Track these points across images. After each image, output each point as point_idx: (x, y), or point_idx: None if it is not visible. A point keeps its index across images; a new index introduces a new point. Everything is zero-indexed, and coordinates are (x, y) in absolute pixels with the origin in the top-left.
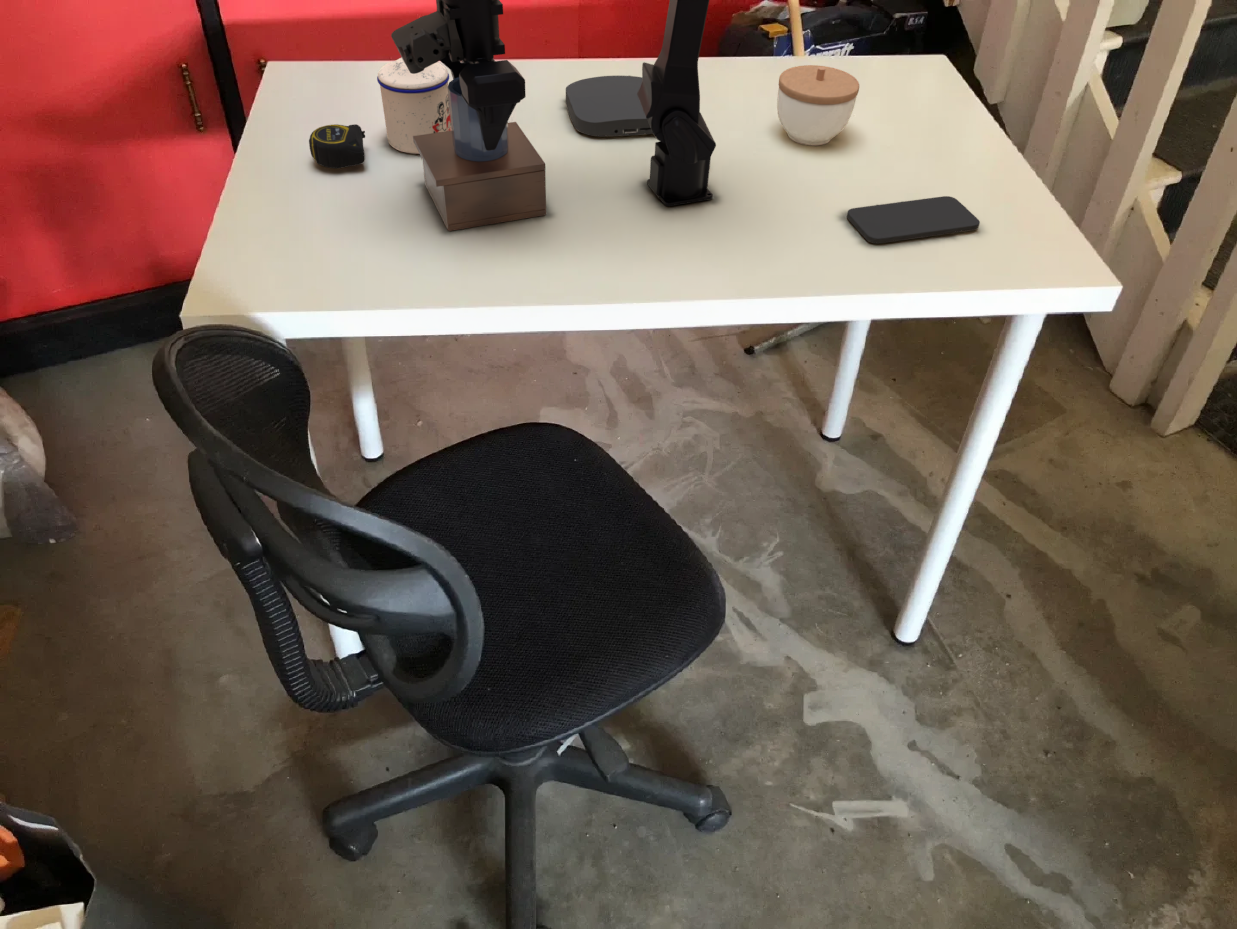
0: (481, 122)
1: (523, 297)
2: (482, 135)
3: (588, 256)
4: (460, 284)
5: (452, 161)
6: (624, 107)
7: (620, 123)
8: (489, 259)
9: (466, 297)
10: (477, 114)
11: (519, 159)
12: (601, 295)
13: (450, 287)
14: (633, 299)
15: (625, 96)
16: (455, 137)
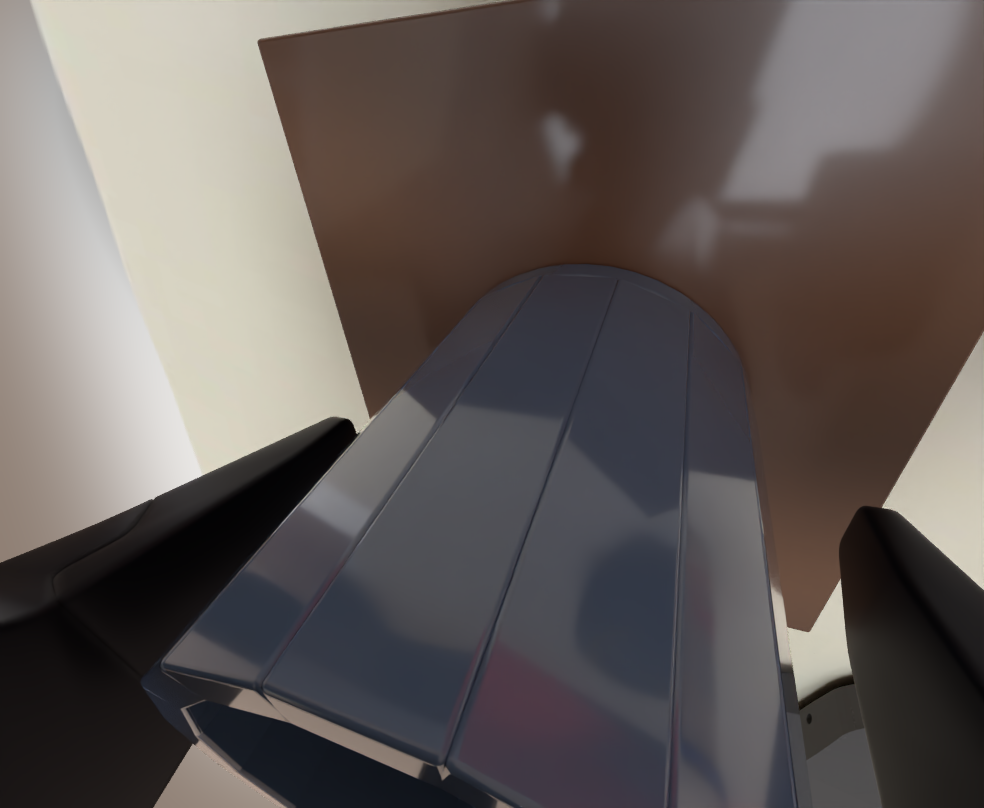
0: (99, 524)
1: (133, 226)
2: (267, 460)
3: (300, 411)
4: (136, 55)
5: (477, 215)
6: (869, 800)
7: (806, 746)
8: (269, 189)
9: (85, 62)
10: (92, 562)
11: None
12: (181, 373)
13: (112, 12)
14: (183, 411)
15: None
16: (499, 317)
